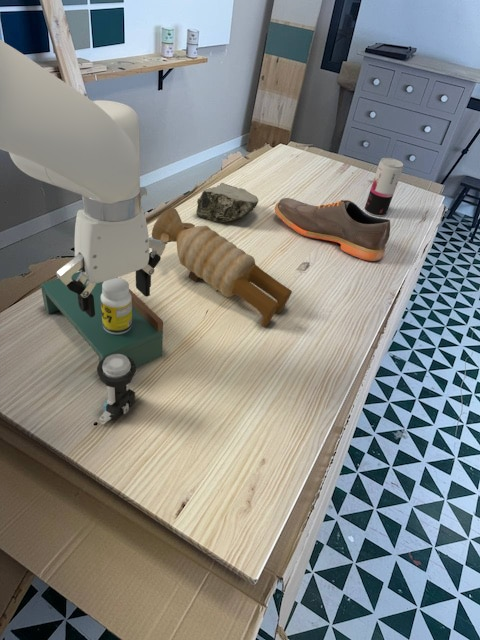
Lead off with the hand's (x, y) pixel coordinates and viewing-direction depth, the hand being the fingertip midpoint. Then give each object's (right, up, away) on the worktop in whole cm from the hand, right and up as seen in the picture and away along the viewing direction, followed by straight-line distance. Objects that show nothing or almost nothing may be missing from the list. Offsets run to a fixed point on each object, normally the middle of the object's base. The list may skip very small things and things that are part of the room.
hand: (116, 301), depth 74 cm
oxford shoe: (+42, +19, +49) cm, 67 cm away
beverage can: (+60, +29, +64) cm, 92 cm away
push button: (+1, -17, -2) cm, 17 cm away
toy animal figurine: (+15, +3, +25) cm, 29 cm away
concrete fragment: (+16, +25, +50) cm, 58 cm away
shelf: (-5, -5, +10) cm, 13 cm away
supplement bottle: (-1, -4, +3) cm, 5 cm away
